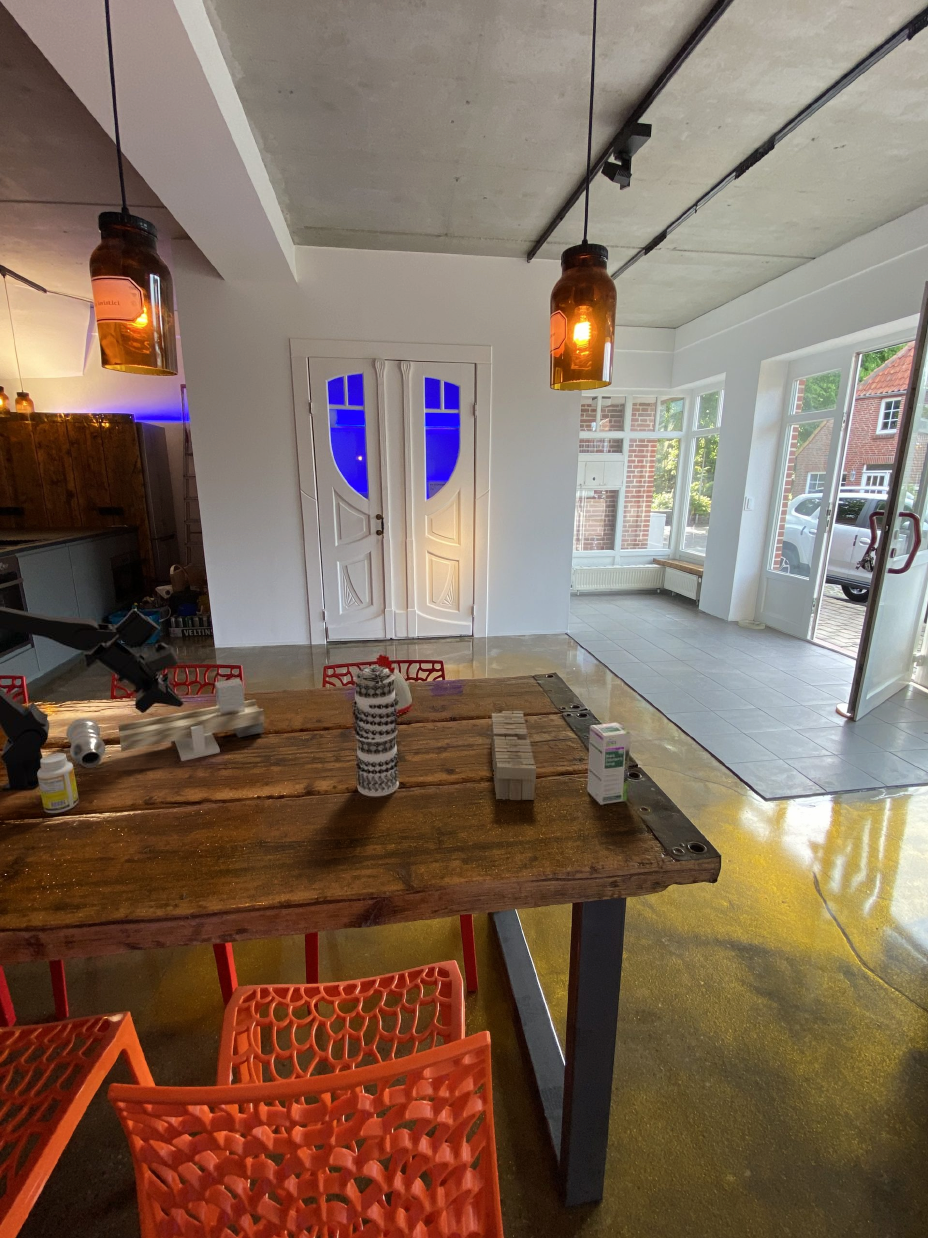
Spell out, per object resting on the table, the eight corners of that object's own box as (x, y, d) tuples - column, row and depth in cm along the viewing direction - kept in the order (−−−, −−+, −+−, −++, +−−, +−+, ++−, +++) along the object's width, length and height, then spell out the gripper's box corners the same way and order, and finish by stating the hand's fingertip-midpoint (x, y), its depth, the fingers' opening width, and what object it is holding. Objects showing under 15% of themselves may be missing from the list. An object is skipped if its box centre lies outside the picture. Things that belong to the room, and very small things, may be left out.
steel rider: (220, 719, 134) (218, 687, 132) (217, 713, 138) (214, 682, 136) (245, 715, 137) (243, 683, 135) (241, 709, 141) (239, 678, 139)
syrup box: (600, 805, 109) (604, 736, 106) (586, 790, 115) (589, 723, 112) (626, 801, 111) (631, 732, 108) (611, 786, 116) (615, 720, 113)
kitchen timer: (394, 695, 168) (393, 646, 164) (421, 708, 157) (420, 657, 154) (352, 706, 159) (350, 655, 156) (378, 721, 149) (376, 666, 145)
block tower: (490, 743, 139) (494, 804, 110) (490, 710, 137) (495, 764, 108) (522, 743, 138) (535, 805, 110) (523, 711, 137) (536, 764, 108)
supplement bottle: (67, 796, 112) (59, 748, 110) (85, 802, 110) (77, 754, 107) (37, 810, 107) (28, 760, 105) (55, 817, 105) (46, 767, 102)
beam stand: (181, 761, 126) (178, 733, 125) (173, 738, 138) (170, 713, 136) (219, 752, 131) (217, 725, 129) (209, 731, 142) (206, 706, 141)
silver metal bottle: (87, 746, 137) (97, 778, 122) (58, 734, 133) (64, 767, 118) (104, 722, 139) (116, 752, 123) (76, 711, 134) (85, 740, 119)
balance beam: (123, 764, 123) (119, 737, 121) (121, 749, 130) (117, 724, 128) (265, 733, 139) (263, 710, 137) (256, 722, 145) (255, 699, 144)
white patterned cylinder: (407, 777, 120) (405, 664, 114) (390, 800, 111) (386, 679, 105) (367, 772, 122) (363, 661, 116) (347, 793, 113) (342, 674, 108)
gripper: (151, 653, 116) (210, 698, 124) (155, 623, 132) (207, 665, 140) (108, 691, 115) (171, 733, 123) (117, 657, 130) (172, 697, 138)
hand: (181, 705), depth 131 cm, fingers closed
